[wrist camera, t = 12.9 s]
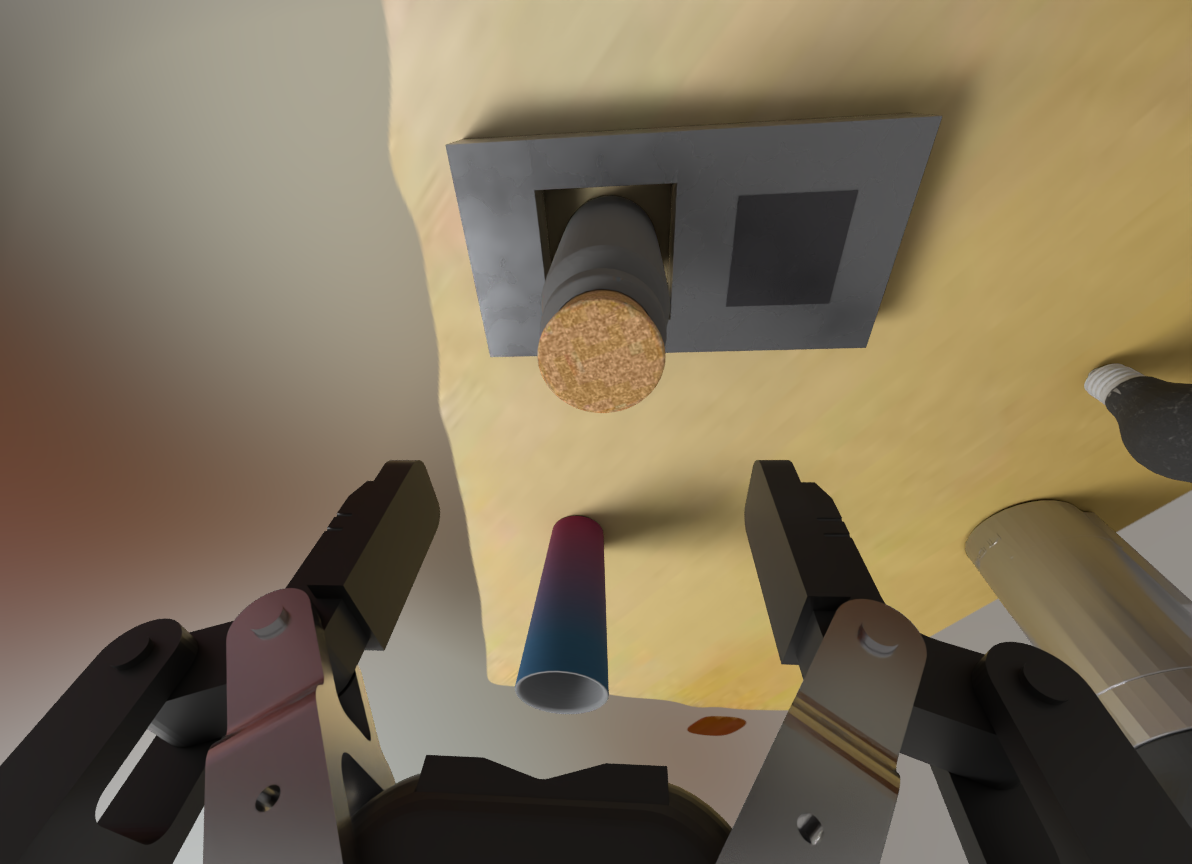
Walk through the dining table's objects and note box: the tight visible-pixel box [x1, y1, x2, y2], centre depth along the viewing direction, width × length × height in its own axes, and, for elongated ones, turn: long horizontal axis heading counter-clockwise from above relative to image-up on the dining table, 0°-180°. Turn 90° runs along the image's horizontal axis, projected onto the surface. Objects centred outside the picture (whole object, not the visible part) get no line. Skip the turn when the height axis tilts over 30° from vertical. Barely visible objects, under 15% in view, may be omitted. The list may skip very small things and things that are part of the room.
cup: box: [515, 516, 609, 714], centre depth 39 cm, size 7×7×15 cm
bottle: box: [537, 196, 670, 413], centre depth 23 cm, size 6×6×15 cm
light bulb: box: [1084, 364, 1192, 483], centre depth 28 cm, size 6×6×10 cm
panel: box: [446, 113, 942, 357], centre depth 27 cm, size 24×12×3 cm, turn 93°
